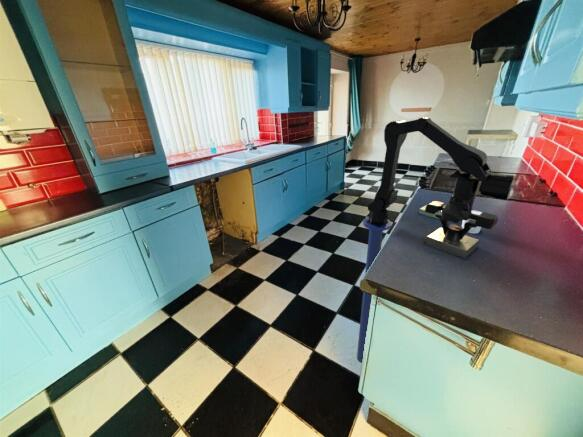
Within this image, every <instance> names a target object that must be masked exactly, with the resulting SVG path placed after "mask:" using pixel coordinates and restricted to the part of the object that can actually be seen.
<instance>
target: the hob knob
mask: <svg viewBox="0 0 583 437" xmlns="http://www.w3.org/2000/svg"><path fill="white" fill-rule="evenodd" d="M462 231H463V228H462V225H457V224H449V225H448V227H447V230H446V234H445V238H447V239H448V240H451V241H459V240H460V236H461V233H462Z"/></svg>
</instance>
